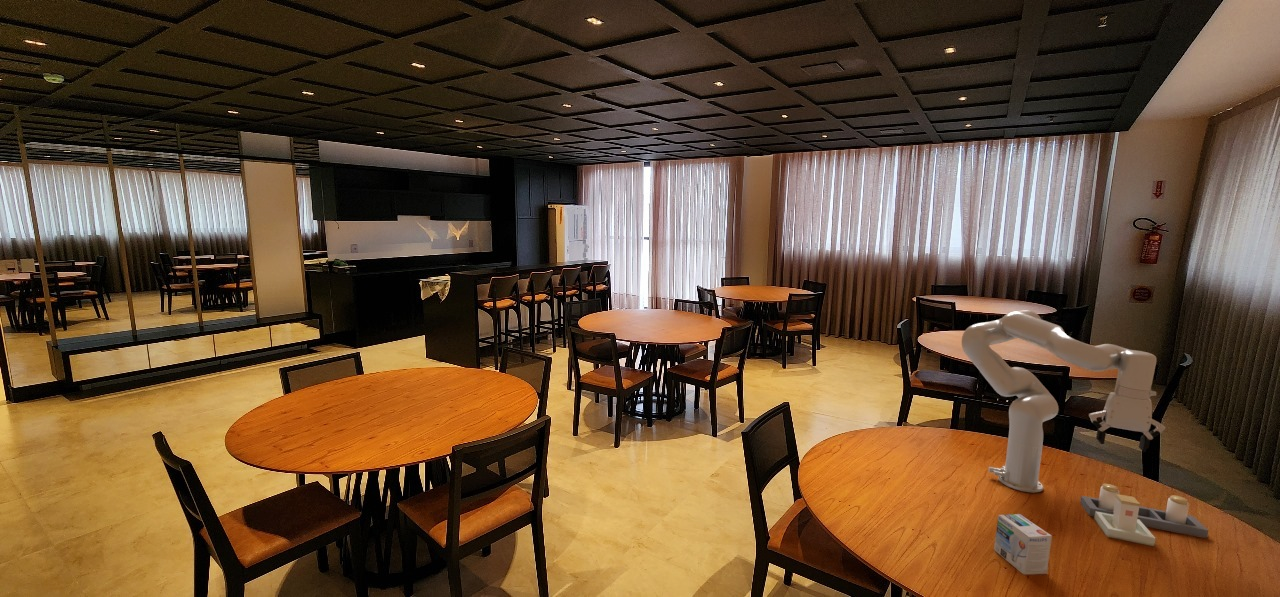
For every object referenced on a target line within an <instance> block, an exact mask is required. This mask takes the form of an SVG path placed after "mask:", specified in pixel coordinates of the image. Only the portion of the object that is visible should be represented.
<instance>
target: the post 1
mask: <svg viewBox="0 0 1280 597" xmlns="http://www.w3.org/2000/svg"><path fill="white" fill-rule="evenodd" d="M1116 494H1119V495H1120V490H1119V487H1118V486H1116V485H1114V484H1110V483H1103V484H1102V485H1101V486H1100V489H1099V497H1098V499H1099V503H1098V508H1101V509H1106V510H1112V511H1114V505H1115V499H1116V497H1115V495H1116Z"/></svg>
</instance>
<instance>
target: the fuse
mask: <svg viewBox="0 0 1280 597" xmlns="http://www.w3.org/2000/svg"><path fill="white" fill-rule="evenodd" d="M1115 497H1116V499H1115V505H1114V512H1113V519H1112V522H1111V526H1112V527H1113V528H1116V529H1121V530H1126V531H1131V532H1135V531H1136V525H1137V518H1138V516H1139V515H1138V512H1139V507H1140V506H1141V503H1140V502H1139V500H1137V499H1136V498H1135V497H1134V496H1129V495H1125V494H1120V493H1119V494H1116V495H1115Z"/></svg>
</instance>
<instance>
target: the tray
mask: <svg viewBox="0 0 1280 597" xmlns="http://www.w3.org/2000/svg"><path fill="white" fill-rule="evenodd" d="M1093 517H1094V516H1093ZM1093 519H1094V520H1095V522H1096V523H1097V525H1098V526H1099V528H1100V529H1101V530H1102V532H1103V533H1104V535H1105V536H1106V537H1107V538H1112V539H1117V540H1122V541H1127V542H1131V543H1136V544H1141V545H1146V546H1151V547H1155V544H1156V537H1155V536H1154V535H1153V533H1152V532H1151V531H1150V530H1149V528H1148V527H1146V526H1145V525H1144V524H1143V523H1142V522H1141V521H1140V520H1139V519H1137V525H1136V531H1135V532H1131V531H1126V530H1121V529H1116V528H1113V527H1112V526H1111V522H1112V519H1113V514H1107V513H1102V512H1097V511H1095V517H1094V518H1093Z"/></svg>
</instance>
